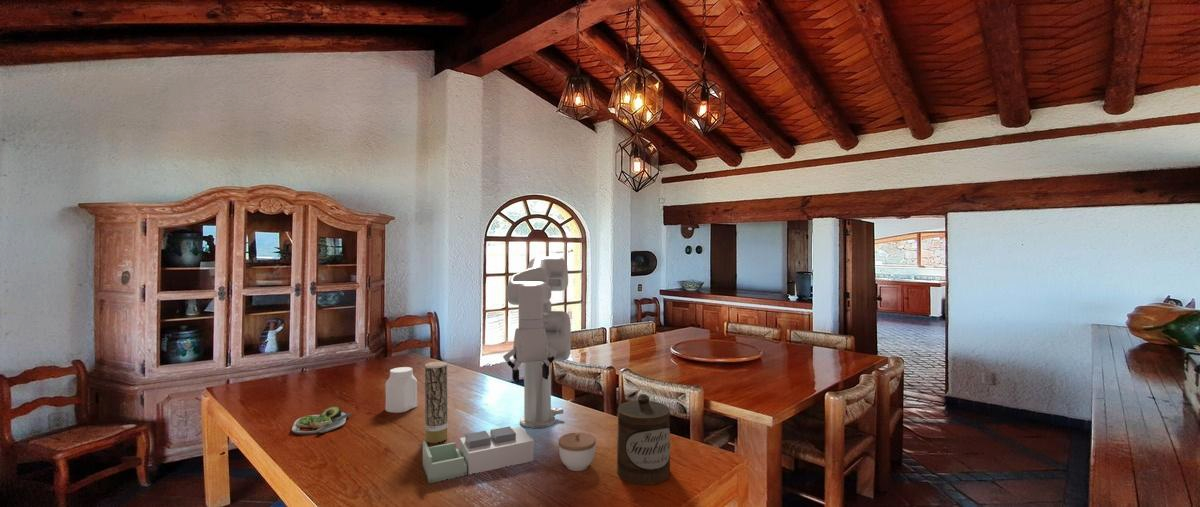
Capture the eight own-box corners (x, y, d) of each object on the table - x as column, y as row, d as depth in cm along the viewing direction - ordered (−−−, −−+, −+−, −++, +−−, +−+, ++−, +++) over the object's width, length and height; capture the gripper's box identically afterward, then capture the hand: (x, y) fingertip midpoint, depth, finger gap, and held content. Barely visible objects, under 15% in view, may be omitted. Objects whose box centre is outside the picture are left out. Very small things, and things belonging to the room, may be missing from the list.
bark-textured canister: (440, 445, 153) (440, 367, 153) (421, 443, 155) (420, 366, 154) (451, 436, 160) (451, 362, 160) (432, 435, 161) (432, 361, 161)
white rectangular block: (520, 445, 153) (520, 427, 153) (533, 460, 143) (533, 440, 142) (459, 457, 144) (459, 438, 144) (468, 474, 134) (468, 453, 134)
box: (458, 458, 144) (457, 435, 144) (466, 475, 133) (466, 450, 133) (422, 465, 139) (422, 441, 139) (429, 483, 129) (428, 457, 129)
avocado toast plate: (347, 433, 164) (347, 420, 164) (285, 441, 157) (285, 427, 157) (352, 414, 182) (352, 402, 182) (297, 421, 175) (296, 408, 175)
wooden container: (632, 489, 126) (632, 406, 125) (608, 465, 139) (608, 390, 139) (680, 478, 132) (680, 399, 131) (653, 457, 145) (653, 384, 145)
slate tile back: (509, 432, 148) (509, 426, 148) (515, 439, 143) (515, 433, 143) (490, 436, 145) (490, 429, 145) (495, 443, 140) (495, 436, 140)
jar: (403, 401, 196) (403, 365, 196) (421, 404, 192) (421, 367, 192) (380, 410, 185) (380, 372, 185) (399, 414, 182) (399, 374, 181)
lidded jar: (567, 478, 132) (567, 444, 132) (552, 462, 141) (552, 430, 141) (602, 469, 137) (602, 437, 137) (585, 455, 146) (585, 424, 146)
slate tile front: (485, 437, 145) (485, 430, 145) (490, 444, 139) (490, 437, 139) (465, 441, 142) (465, 434, 142) (469, 448, 137) (469, 441, 137)
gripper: (552, 320, 155) (552, 374, 155) (499, 324, 147) (499, 380, 147) (561, 323, 149) (561, 379, 149) (506, 328, 141) (506, 387, 141)
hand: (530, 380), depth 148 cm, fingers open, 8 cm apart
